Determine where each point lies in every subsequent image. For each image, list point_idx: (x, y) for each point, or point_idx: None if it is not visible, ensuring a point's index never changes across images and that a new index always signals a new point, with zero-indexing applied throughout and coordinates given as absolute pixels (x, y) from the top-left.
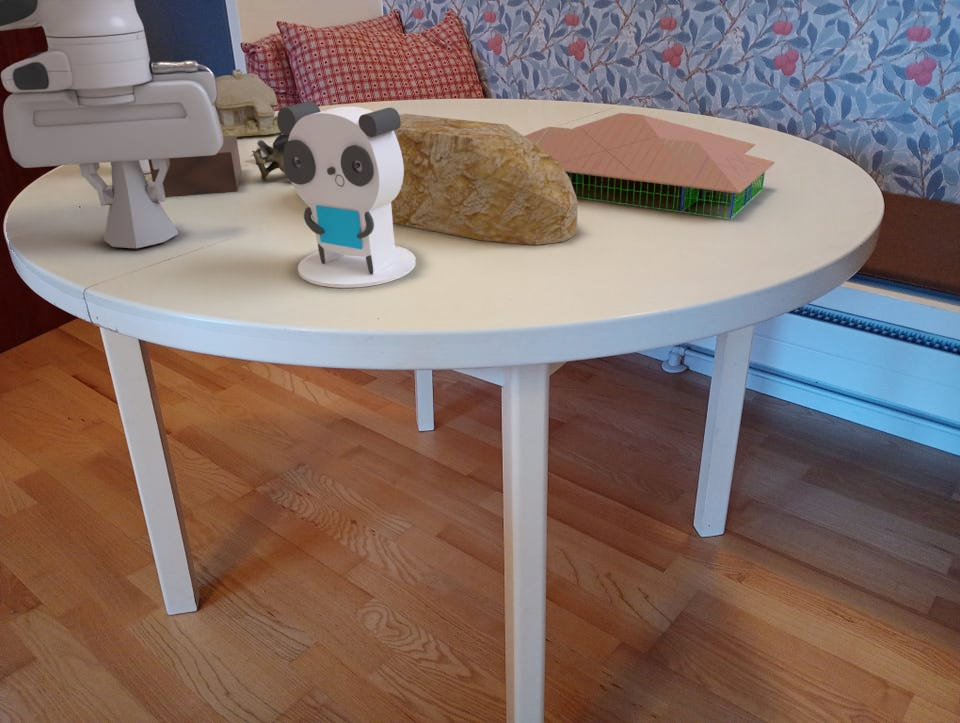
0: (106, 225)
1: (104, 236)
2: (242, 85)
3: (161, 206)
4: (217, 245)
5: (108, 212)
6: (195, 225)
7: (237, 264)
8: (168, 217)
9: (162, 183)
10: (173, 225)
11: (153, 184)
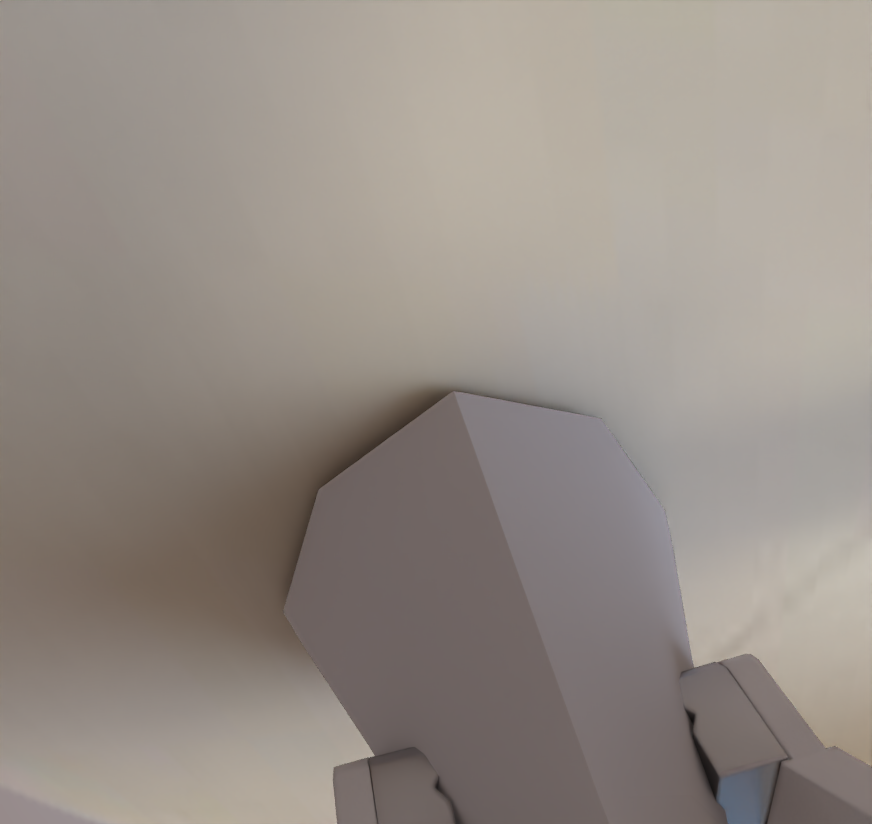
0: (323, 674)
1: (292, 627)
2: None
3: (690, 651)
4: (819, 595)
5: (361, 734)
6: (736, 327)
7: (858, 731)
8: (678, 587)
9: (812, 739)
10: (671, 547)
11: (761, 813)
